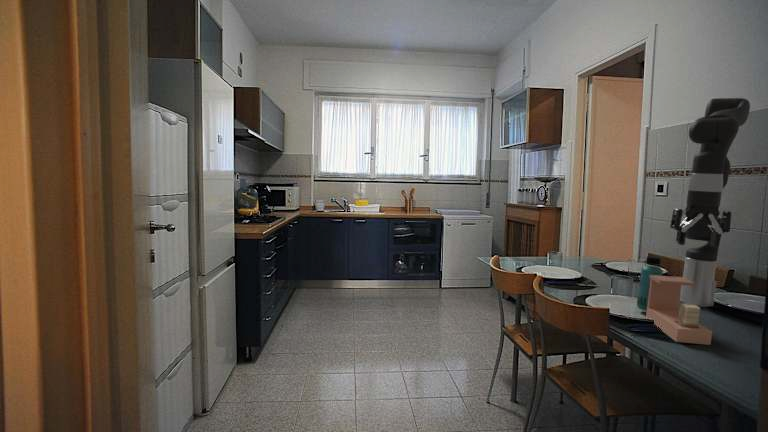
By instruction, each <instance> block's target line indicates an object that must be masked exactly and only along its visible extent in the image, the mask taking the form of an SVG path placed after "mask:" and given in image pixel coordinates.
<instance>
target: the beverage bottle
mask: <svg viewBox="0 0 768 432" xmlns="http://www.w3.org/2000/svg"><path fill="white" fill-rule="evenodd" d="M645 263H647V265H644V266H642V267H641V271H640V276H639V284H638V285H639V286H638V293H637V298H636V299H637V301H636V306H637V307H636V308H638V309H639V310H642V311H646V312H647V305H648V297H649V289H650V281H651V279H650V278H649V276H650V275H659V276H663V273H664V271H663V269H662V268H661V267H660V266H657V265H661V257H658V256H652V255H651V256H650V255H647V256H646V259H645Z"/></svg>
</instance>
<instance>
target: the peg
mask: <svg viewBox="0 0 768 432" xmlns="http://www.w3.org/2000/svg"><path fill="white" fill-rule="evenodd" d="M700 311H701V307H700V306H696V305H694V304H687V303H683V302H680V303H679V318H678V324H679V325H680V326H682V327H687V328H697V327H698V323H699V320H700V319H699V318H700V314H701V313H700Z"/></svg>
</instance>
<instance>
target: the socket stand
mask: <svg viewBox="0 0 768 432" xmlns="http://www.w3.org/2000/svg"><path fill="white" fill-rule="evenodd" d="M649 278H650V279H651V281H650V289H649V297H648V305H647V311H646V315H645V318H646V317H648V318H651V319H653V320H654V324H655V325H656V326H657V327H656V326H655V325H654V324H653V325H654V326H655V327H656V328H658V327H659V328H660V329H661V330H662V331H661V330H660V329H659V328H658V329H659V330H660V331H661V332H662V333H664V334H665V335H667V336H668V337H669V338H670V339H672V340H673V341H674V342H676V343H686V344H697V345H706V346H707V345H710V346H711V343H712V337H713V331H712V330H711V329H710V328H708V327H705V325H703V324H702V323H699V322H698V327H697V328H687V327H682V326H680V325H679V324H678V318H679V311H680V293H681V286H682V285H687V286H695V283H694V282H692V281H690V280H688V279H686V278H684V277H683V276H673V275H672V276H671V275H662V276H659V275H650V276H649Z"/></svg>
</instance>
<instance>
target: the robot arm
mask: <svg viewBox="0 0 768 432" xmlns="http://www.w3.org/2000/svg"><path fill="white" fill-rule="evenodd" d="M750 108H751V104H750V101H749V100H748V99H747V98H744V97H743V98H742V97H741V98H740V97H732V98H731V97H730V98H727V97H725V98H723V97H719V98H712V99H709V101H708V102H707V104H706V108H705V112H704V116H703V117H699V118H697V119H695V120H694V121H693V122H692V124H691V125H690V127H689V128H688V129H689V130H688V137H689V140H690V141H691V142H693V143H695V144H697V145H699V144H700V149H699V152H698V153H696V154H694V156H693V161H692V167H691V169H692V170H691V174H690V177H689V182H688V186H687V187H688V190H687V196H686V197H687V199H686V208H685V209H682V208H677V207H676V208H673V212H672V215H671V216H672V217H671V221H670V227H669V228H671V229H673V230H675V231H676V238H675V240H676V243H677V244H678V245H681V246H684V245H685V244H686V243H685V242H686V239H688V240H692V241H700V242H701V241H702V242H703V241H704V242H707V243H705V244H703V245H700V246H697V247H692V248H688V249H687V250H686V251H685V258H684V265H683V273H682V277H684V278H686V279H688V280H690V281H692V282H694V283H695V286H687V285H682V286H681V293H680V300H679V302H680V303H687V304H694V305H696V306H698V307H699V308H701V307H702V308H706V307H707V308H708V307H714V304H715V303H714V302H715V297H716V288H717V281H716V280H715V275H716V268H717V261H718V255H719V249H720V243H721V239H722V235H723V233H729V232H730V231H731V221H732V220H731V219H732V212H731V211H729V210H719V208H720V206H721V199H722V194H723V190H724V188H725V186H727V184H728V180H729V176H730V171H731V163H730V160H729V157H728V156H727V155H728V154H729V153H728V152H729V151H730V148H731V146H732V144H733V142H734V140H735V139H736V137H737V134H738V132H739V127H742V126H743V125H745V124H746V122H747V119H748V117H749V114H750ZM684 215H685V218H684V219H683V220H682V217H684Z"/></svg>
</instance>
